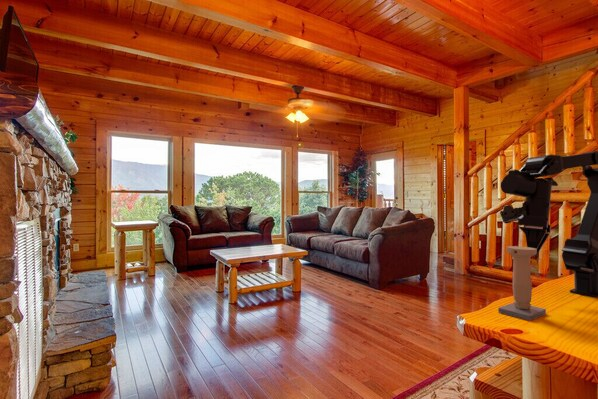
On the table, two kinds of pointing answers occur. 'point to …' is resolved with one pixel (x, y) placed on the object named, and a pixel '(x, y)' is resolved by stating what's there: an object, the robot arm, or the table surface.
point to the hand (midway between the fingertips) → (532, 255)
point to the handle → (522, 275)
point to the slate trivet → (522, 312)
